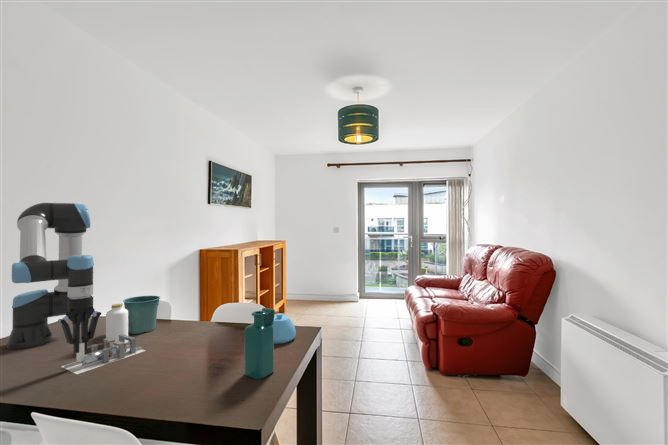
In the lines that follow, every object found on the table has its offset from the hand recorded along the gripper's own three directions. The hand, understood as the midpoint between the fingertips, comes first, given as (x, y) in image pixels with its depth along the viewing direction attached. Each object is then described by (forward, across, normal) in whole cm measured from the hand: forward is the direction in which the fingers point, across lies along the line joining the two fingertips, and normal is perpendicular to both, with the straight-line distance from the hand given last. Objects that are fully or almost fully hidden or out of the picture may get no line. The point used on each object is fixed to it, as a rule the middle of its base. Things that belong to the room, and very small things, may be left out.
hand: (80, 360), depth 118 cm
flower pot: (+3, +36, +25) cm, 44 cm away
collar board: (+3, +8, 0) cm, 9 cm away
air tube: (+2, +8, 0) cm, 8 cm away
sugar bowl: (+3, +61, -44) cm, 75 cm away
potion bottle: (+3, +19, +14) cm, 24 cm away
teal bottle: (+3, +31, -61) cm, 68 cm away
